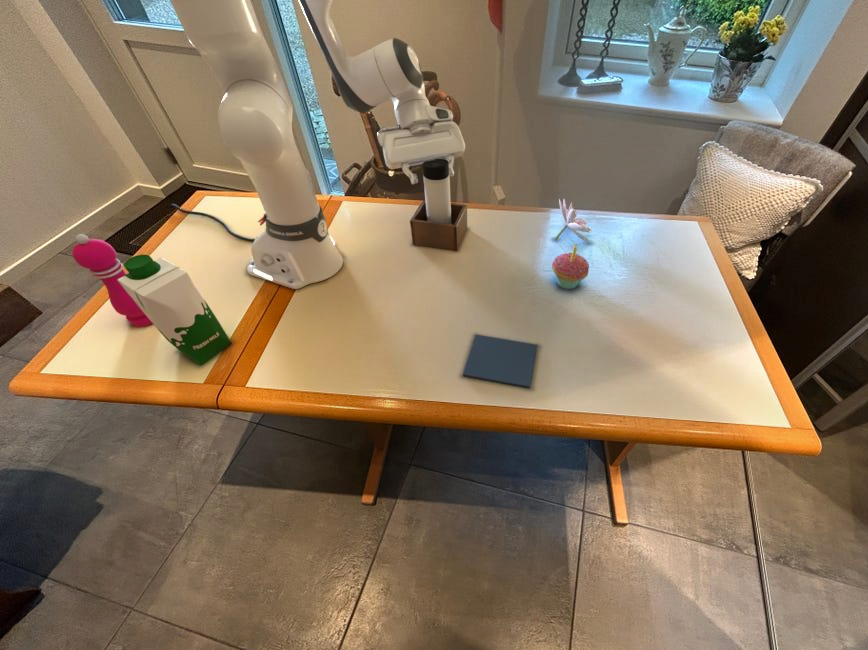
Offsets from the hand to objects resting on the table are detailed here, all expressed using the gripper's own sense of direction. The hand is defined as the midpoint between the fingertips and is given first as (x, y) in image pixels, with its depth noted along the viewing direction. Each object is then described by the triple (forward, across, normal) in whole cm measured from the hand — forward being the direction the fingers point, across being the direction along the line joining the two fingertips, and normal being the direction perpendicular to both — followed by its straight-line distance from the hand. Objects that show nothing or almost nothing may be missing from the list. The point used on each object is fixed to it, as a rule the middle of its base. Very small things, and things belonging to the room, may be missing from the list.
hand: (433, 179), depth 99 cm
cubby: (+12, 0, +8) cm, 15 cm away
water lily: (+23, +33, -2) cm, 40 cm away
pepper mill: (+15, -70, +5) cm, 71 cm away
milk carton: (+26, -58, -6) cm, 64 cm away
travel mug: (+12, 0, +8) cm, 15 cm away
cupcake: (+34, +21, -14) cm, 42 cm away
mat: (+45, -5, -25) cm, 52 cm away
